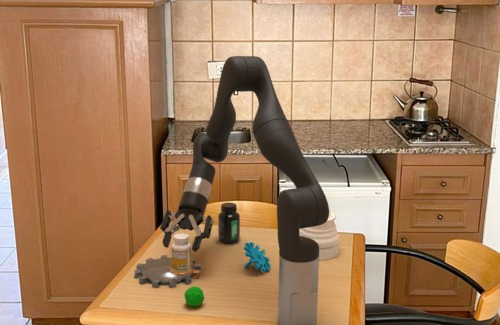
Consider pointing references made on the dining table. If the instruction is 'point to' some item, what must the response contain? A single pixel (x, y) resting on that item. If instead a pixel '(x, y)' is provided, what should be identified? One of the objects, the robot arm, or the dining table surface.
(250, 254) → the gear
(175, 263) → the supplement bottle
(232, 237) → the supplement bottle
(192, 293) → the polyhedron
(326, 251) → the honey pot
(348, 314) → the dining table surface
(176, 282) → the sprocket plate
